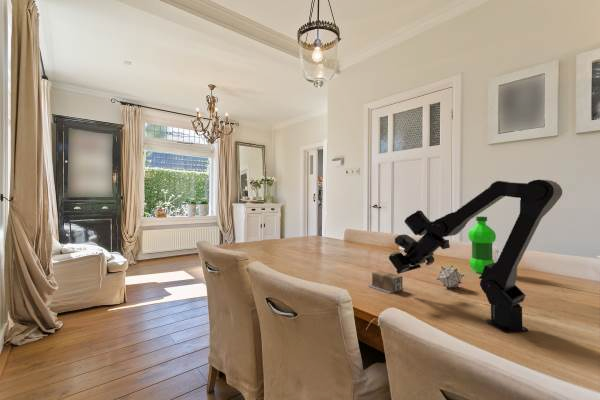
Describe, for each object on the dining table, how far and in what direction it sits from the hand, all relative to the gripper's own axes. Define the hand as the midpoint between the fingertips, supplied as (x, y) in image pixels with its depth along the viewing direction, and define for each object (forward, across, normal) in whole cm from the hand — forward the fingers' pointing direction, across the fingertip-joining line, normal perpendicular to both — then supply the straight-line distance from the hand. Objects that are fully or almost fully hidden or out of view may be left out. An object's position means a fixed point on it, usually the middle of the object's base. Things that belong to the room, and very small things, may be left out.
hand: (397, 272), depth 100 cm
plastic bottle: (+1, -52, +9) cm, 53 cm away
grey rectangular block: (+3, 0, +3) cm, 4 cm away
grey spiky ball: (-1, -19, +11) cm, 22 cm away
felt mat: (+9, 0, +1) cm, 9 cm away
